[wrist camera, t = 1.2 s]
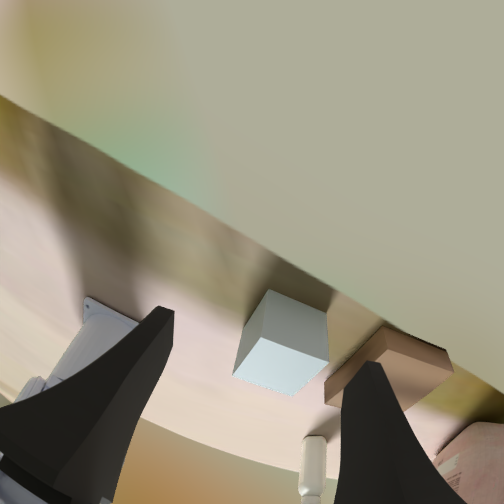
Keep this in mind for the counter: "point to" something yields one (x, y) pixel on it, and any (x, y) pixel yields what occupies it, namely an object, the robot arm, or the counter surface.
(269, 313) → the grey cube
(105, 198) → the counter surface
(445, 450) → the packaged food
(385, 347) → the walnut block
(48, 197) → the counter surface
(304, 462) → the eye dropper bottle
